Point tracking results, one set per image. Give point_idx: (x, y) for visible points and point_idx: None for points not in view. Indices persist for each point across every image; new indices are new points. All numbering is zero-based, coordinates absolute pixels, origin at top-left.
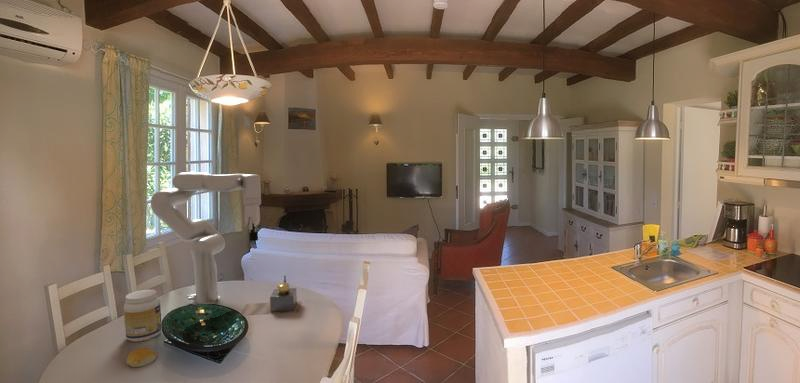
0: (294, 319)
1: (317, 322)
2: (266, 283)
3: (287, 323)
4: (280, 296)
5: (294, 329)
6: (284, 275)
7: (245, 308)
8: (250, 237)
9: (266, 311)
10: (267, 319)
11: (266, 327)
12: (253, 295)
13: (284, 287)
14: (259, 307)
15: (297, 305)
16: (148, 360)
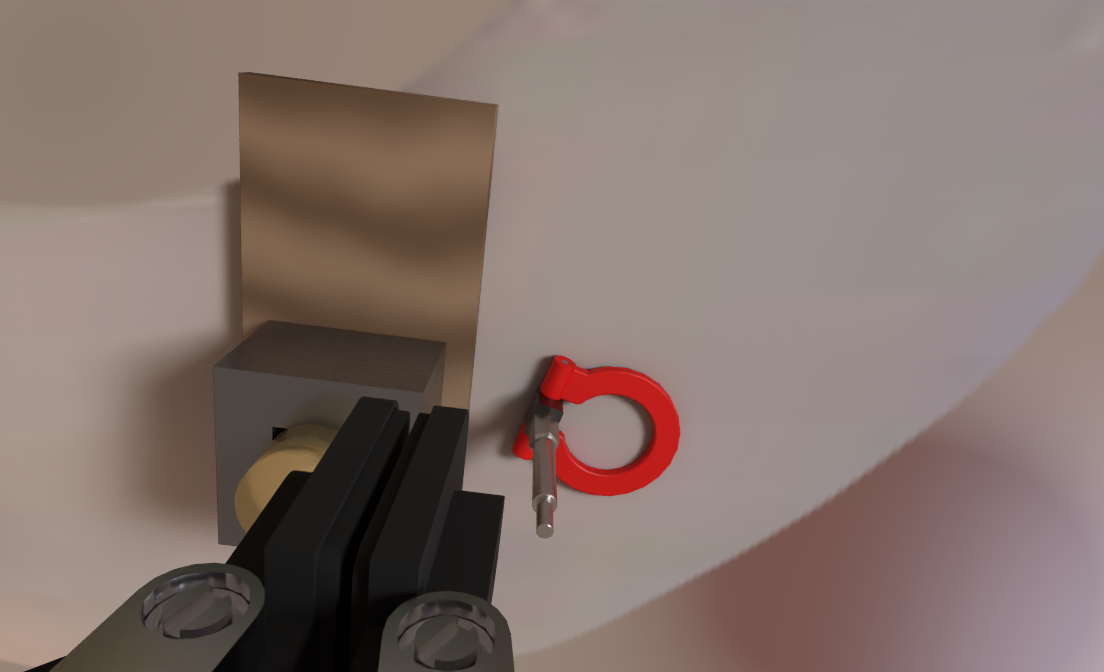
0: (194, 464)
1: (135, 588)
2: (1088, 231)
3: (134, 423)
4: (219, 449)
5: (41, 463)
6: (544, 527)
7: (385, 110)
8: (336, 455)
9: (292, 288)
10: (214, 292)
11: (78, 293)
12: (778, 135)
13: (241, 516)
14: (386, 227)
15: None
16: None
